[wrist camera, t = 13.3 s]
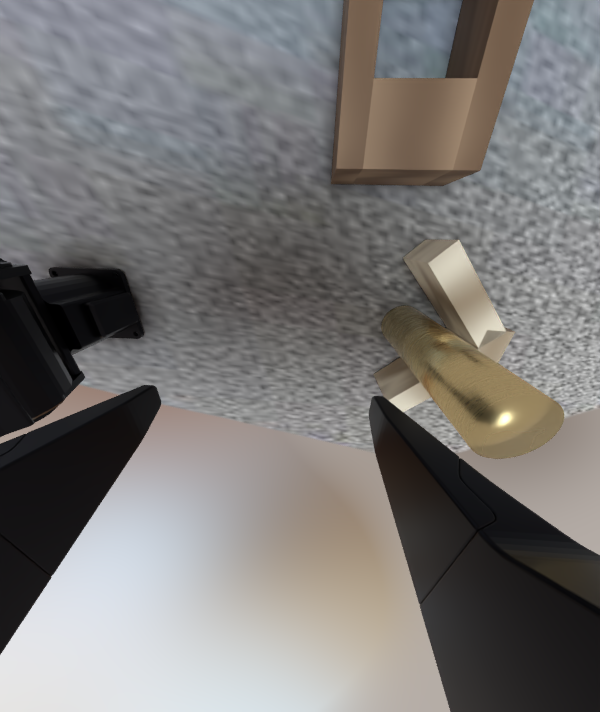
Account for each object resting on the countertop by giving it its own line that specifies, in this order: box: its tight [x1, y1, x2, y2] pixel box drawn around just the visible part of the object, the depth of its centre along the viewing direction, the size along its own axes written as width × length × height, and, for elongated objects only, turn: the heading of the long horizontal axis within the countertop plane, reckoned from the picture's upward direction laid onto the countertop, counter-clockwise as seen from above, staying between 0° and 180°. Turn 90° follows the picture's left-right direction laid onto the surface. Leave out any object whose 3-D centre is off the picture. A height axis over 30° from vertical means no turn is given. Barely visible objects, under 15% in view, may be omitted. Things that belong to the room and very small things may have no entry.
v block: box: [374, 240, 515, 412], centre depth 19 cm, size 8×14×4 cm, turn 177°
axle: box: [381, 306, 564, 459], centre depth 15 cm, size 4×4×13 cm
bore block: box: [331, 0, 534, 186], centre depth 11 cm, size 8×12×4 cm, turn 179°
